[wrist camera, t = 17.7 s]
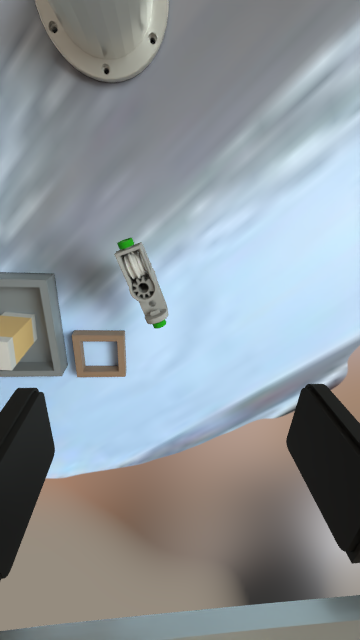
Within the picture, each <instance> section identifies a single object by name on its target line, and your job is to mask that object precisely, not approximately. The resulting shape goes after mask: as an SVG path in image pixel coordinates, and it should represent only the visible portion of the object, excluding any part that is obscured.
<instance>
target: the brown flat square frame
mask: <svg viewBox="0 0 360 640" xmlns="http://www.w3.org/2000/svg"><path fill="white" fill-rule="evenodd" d="M72 341H73V349H74V356H75V364H76V371H77V377H125V376H126V350H125V331H100V330H75V331H74V332H73V334H72ZM83 341H117V348H118V366H85V357H84V349H83Z"/></svg>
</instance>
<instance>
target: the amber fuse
mask: <svg viewBox="0 0 360 640" xmlns="http://www.w3.org/2000/svg"><path fill="white" fill-rule="evenodd" d="M36 340H37V331H36V321H35V314H23V313H11V312H4V313H3V314H2V315H1V316H0V370H13V369H14V367H15V366H16V365H17V363H18V362H19V361H20V360H21V358H22V357H23V356H24V355H25V353H26V352H27V351H28V350H29V348H30V347H31V346H32V345H33V343H34V342H35V341H36Z"/></svg>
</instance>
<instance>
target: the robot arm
mask: <svg viewBox="0 0 360 640" xmlns="http://www.w3.org/2000/svg"><path fill="white" fill-rule="evenodd" d="M35 4H36V7H37V10H38V13H39V16H40V19H41V21H42V23H43V25H44V27H45V29H46V31H47V34H48V36H49V37H50V39H51V40H52V42H53V43H54V45H55V47H56V48H57V49H58V50H59V52H60V53H61V54H62V56H63V57H64V58H65V59H66V60H67V61H68V62H69V63H70V64H71V65H72V66H73V67H74V68H75V69H77V70H78V71H80V72H81V73H83V74H85V75H86V76H88V77H91V78H93V79H96V80H98V81H104V82H110V83H111V82H122V81H125V80H128V79H130V78H133V77H134V76H136V75H138V74H139V73H141V72H142V71H143V70H144V69H145V68H146V67H147V66H148V65H149V64H150V63H151V62H152V60H153V58H154V57H155V55H156V54H157V52H158V50H159V48H160V45H161V43H162V41H163V38H164V34H165V30H166V26H167V19H168V9H169V0H35ZM55 29H58V31H57V32H56V33H54V30H55ZM151 40H154V41H155V44H151V43H150V41H151ZM105 70H109V74H107V75H106V74H105ZM286 442H287V447H288V450H289V452H290V454H291V456H292V457H293V459H294V461H295V463H296V465H297V467H298V469H299V471H300V473H301V474H302V477H303V479H304V481H305V482H306V484H307V486H308V488H309V490H310V492H311V494H312V496H313V498H314V500H315V502H316V503H317V506H318V507H319V509H320V511H321V513H322V515H323V517H324V519H325V521H326V523H327V525H328V527H329V529H330V531H331V533H332V534H333V536H334V538H335V540H336V542H337V544H338V546H339V547H340V548H341V550H343V551H346V553H347V555H348V557H349V559H350V561H351V562H352V563H360V423H359V422H358V421H357V420H356V419H355V418H354V417H353V415H352V414H351V413H350V412H349V411H348V410H347V409H346V407H344V405H343V404H342V403H341V402H340V401H339V400H338V398H337V397H336V396H335V395H334V394H333V393H332V392H331V391H330V389H329V388H328V387H327V386H326V385H324V384H307V385H306V387H305V388H303V389H302V390H301V393H300V396H299V400H298V403H297V406H296V409H295V413H294V416H293V419H292V423H291V426H290V429H289V433H288V436H287V441H286ZM54 451H55V447H54V441H53V437H52V432H51V427H50V422H49V417H48V412H47V407H46V402H45V397H44V394H43V392H39V391H38V389H37V388H18V389H17V390H16V391H15V392H14V393H13V395H12V396H11V398H10V399H9V401H8V402H7V403H6V405H5V406H4V408H3V409H2V411H1V412H0V580H1V579H2V578H6V576H8V574H9V572H10V570H11V568H12V565H13V562H14V560H15V557H16V554H17V552H18V549H19V547H20V544H21V541H22V538H23V536H24V533H25V531H26V528H27V526H28V523H29V520H30V518H31V515H32V512H33V510H34V507H35V504H36V502H37V499H38V497H39V494H40V491H41V489H42V486H43V483H44V481H45V478H46V476H47V473H48V470H49V468H50V465H51V462H52V460H53V457H54ZM0 640H360V595H356V596H346V597H334V598H323V599H312V600H300V601H289V602H279V603H268V604H258V605H247V606H236V607H226V608H216V609H205V610H195V611H185V612H174V613H164V614H154V615H144V616H135V617H125V618H115V619H105V620H96V621H86V622H77V623H66V624H56V625H47V626H39V627H31V628H23V629H16V630H7V631H0Z"/></svg>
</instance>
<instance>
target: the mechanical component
mask: <svg viewBox="0 0 360 640" xmlns="http://www.w3.org/2000/svg"><path fill="white" fill-rule="evenodd" d="M117 244H118V246H119V248H120V250H119V251H116V253H115V257H116V259H117V261H118V264H119V266H120V268H121V270H122V272H123V275H124V277H125V279H126V281H127V284H128V286H129V291H130V294H131V295H132V297H133V298H134V299H136V300H137V301H139V303H140V305H141V308H142V310H143V312H144V314H145V319H146V321H147V323H148V324H153V326H154V328H161V327H163V326H164V325H165V324H166V321H165V319H166V318H167V317H168V309H167V305H166V302H165V299H164V297H163V294H162V292H161V289H160V286H159V284H158V281H157V277H156V275H155V271H154V269H153V268H152V266H151V263H150V261H149V259H148V256H147V253H146V251H145V248H144V246H143V244H142V243H138V244H135V245H134V242H133V240H132V238H128V239H125V240H123V241H120V242H118V243H117ZM121 249H122V250H121Z"/></svg>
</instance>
